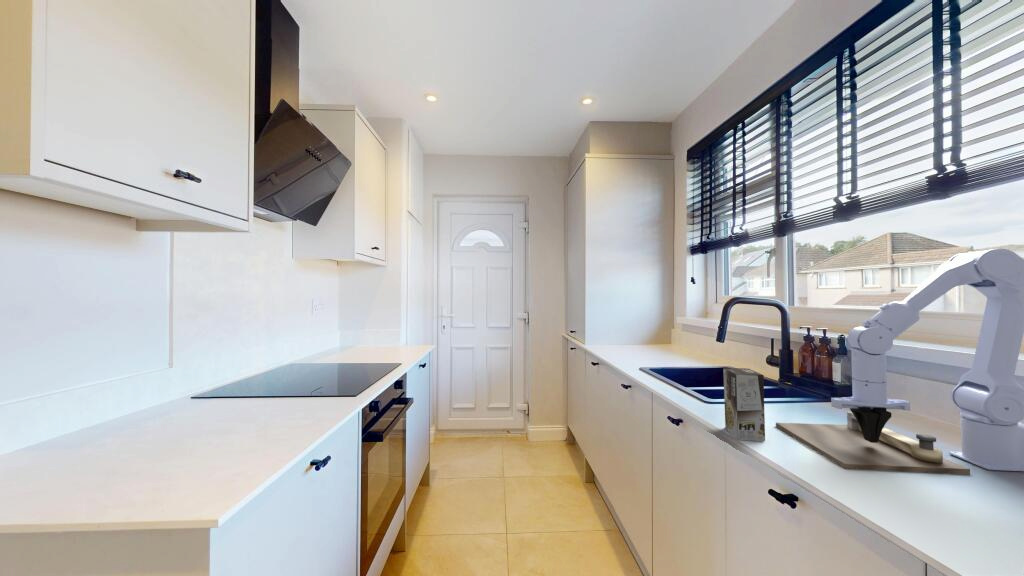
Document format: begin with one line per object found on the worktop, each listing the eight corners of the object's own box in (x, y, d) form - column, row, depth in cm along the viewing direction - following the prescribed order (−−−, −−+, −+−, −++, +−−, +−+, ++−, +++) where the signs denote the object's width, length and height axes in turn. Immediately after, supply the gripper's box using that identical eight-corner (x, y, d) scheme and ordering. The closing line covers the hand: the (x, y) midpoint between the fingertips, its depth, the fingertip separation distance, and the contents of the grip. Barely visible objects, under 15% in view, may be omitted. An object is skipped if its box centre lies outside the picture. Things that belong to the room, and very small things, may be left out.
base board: (867, 429, 98) (866, 410, 98) (970, 474, 73) (968, 448, 73) (775, 426, 101) (775, 407, 101) (844, 468, 76) (843, 443, 76)
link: (949, 463, 75) (948, 440, 76) (924, 462, 76) (923, 440, 76) (875, 431, 93) (875, 413, 94) (856, 430, 94) (855, 412, 94)
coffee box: (766, 442, 91) (764, 374, 91) (737, 440, 92) (735, 374, 92) (750, 429, 100) (749, 367, 100) (724, 427, 101) (722, 367, 101)
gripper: (890, 377, 88) (891, 435, 88) (821, 375, 90) (823, 433, 90) (918, 384, 81) (920, 447, 81) (843, 382, 83) (845, 444, 83)
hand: (870, 441), depth 85 cm, fingers closed
